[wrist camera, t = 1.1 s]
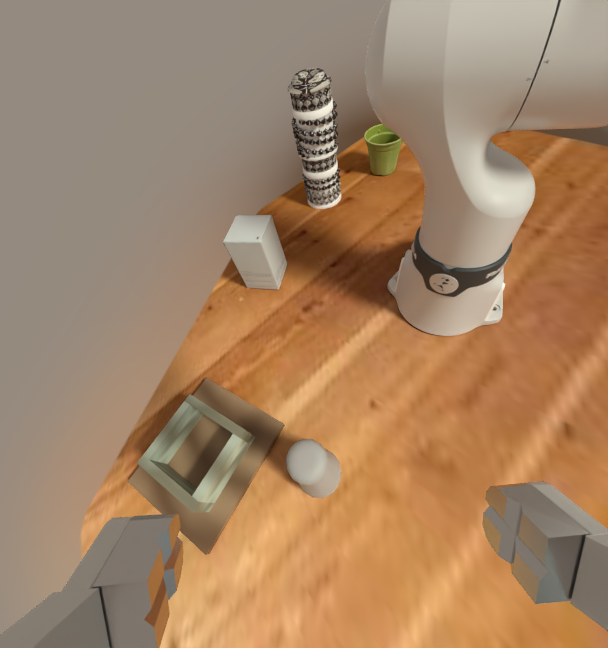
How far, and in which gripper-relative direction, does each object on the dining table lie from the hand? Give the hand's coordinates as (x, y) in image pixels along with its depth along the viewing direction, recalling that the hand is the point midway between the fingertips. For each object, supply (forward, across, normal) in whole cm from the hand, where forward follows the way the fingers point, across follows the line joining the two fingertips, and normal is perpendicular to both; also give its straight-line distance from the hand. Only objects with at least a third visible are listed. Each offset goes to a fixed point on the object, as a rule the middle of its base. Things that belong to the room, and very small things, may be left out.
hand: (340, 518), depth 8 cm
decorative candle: (+70, -11, -22) cm, 75 cm away
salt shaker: (+28, -4, +22) cm, 36 cm away
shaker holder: (+34, +12, +21) cm, 42 cm away
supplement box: (+57, +3, -4) cm, 57 cm away
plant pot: (+73, -27, -30) cm, 83 cm away
